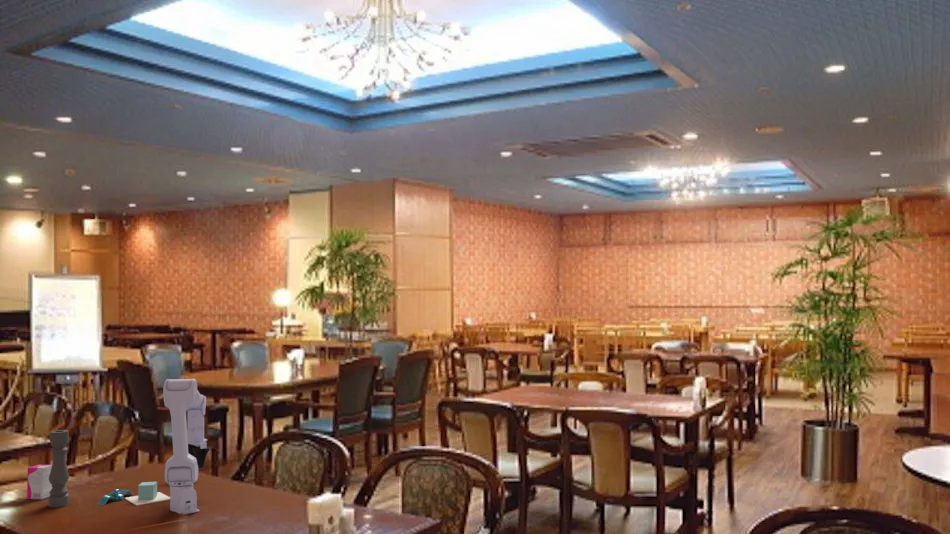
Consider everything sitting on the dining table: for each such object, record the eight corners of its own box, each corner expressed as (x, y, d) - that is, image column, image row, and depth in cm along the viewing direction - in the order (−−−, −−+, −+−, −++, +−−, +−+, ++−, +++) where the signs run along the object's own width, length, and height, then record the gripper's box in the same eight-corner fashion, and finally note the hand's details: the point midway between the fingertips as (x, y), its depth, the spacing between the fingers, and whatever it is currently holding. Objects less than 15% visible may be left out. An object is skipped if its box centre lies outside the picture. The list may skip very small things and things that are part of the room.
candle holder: (60, 508, 266) (60, 433, 267) (44, 507, 268) (44, 432, 268) (73, 503, 272) (73, 430, 273) (57, 502, 274) (57, 429, 274)
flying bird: (121, 494, 286) (121, 483, 286) (137, 496, 284) (137, 485, 284) (89, 505, 271) (90, 493, 272) (106, 506, 269) (106, 495, 270)
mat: (171, 499, 277) (171, 498, 277) (136, 505, 269) (136, 504, 269) (159, 493, 286) (159, 491, 286) (124, 498, 278) (124, 497, 278)
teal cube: (153, 499, 275) (153, 485, 275) (138, 500, 275) (138, 485, 275) (157, 495, 280) (157, 481, 280) (142, 496, 280) (142, 482, 280)
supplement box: (52, 496, 282) (53, 464, 282) (42, 501, 276) (42, 467, 276) (37, 496, 282) (37, 463, 283) (26, 500, 277) (26, 467, 277)
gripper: (214, 429, 284) (214, 467, 284) (198, 424, 295) (198, 461, 295) (195, 431, 280) (195, 470, 279) (179, 426, 291) (179, 464, 290)
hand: (195, 466), depth 287 cm, fingers open, 7 cm apart
